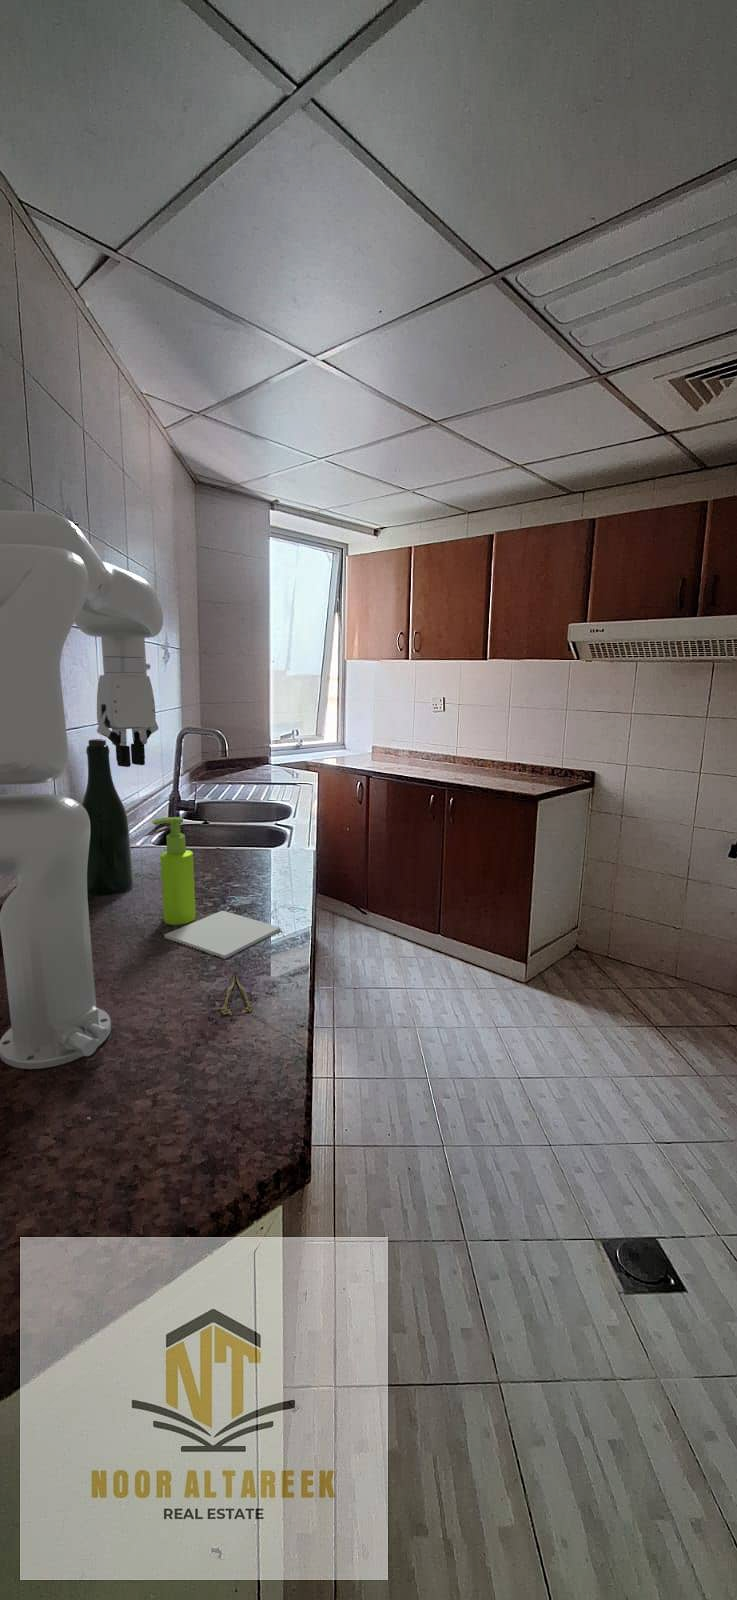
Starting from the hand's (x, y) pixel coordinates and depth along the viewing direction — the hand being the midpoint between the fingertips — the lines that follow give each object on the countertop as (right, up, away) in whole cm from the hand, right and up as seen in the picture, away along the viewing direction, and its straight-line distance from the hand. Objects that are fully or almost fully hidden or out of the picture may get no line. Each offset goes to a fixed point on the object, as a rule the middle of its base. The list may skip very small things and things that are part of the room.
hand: (131, 764), depth 115 cm
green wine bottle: (-11, -27, +16) cm, 33 cm away
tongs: (+26, -36, -27) cm, 52 cm away
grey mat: (+20, -31, -7) cm, 37 cm away
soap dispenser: (+9, -30, 0) cm, 31 cm away
